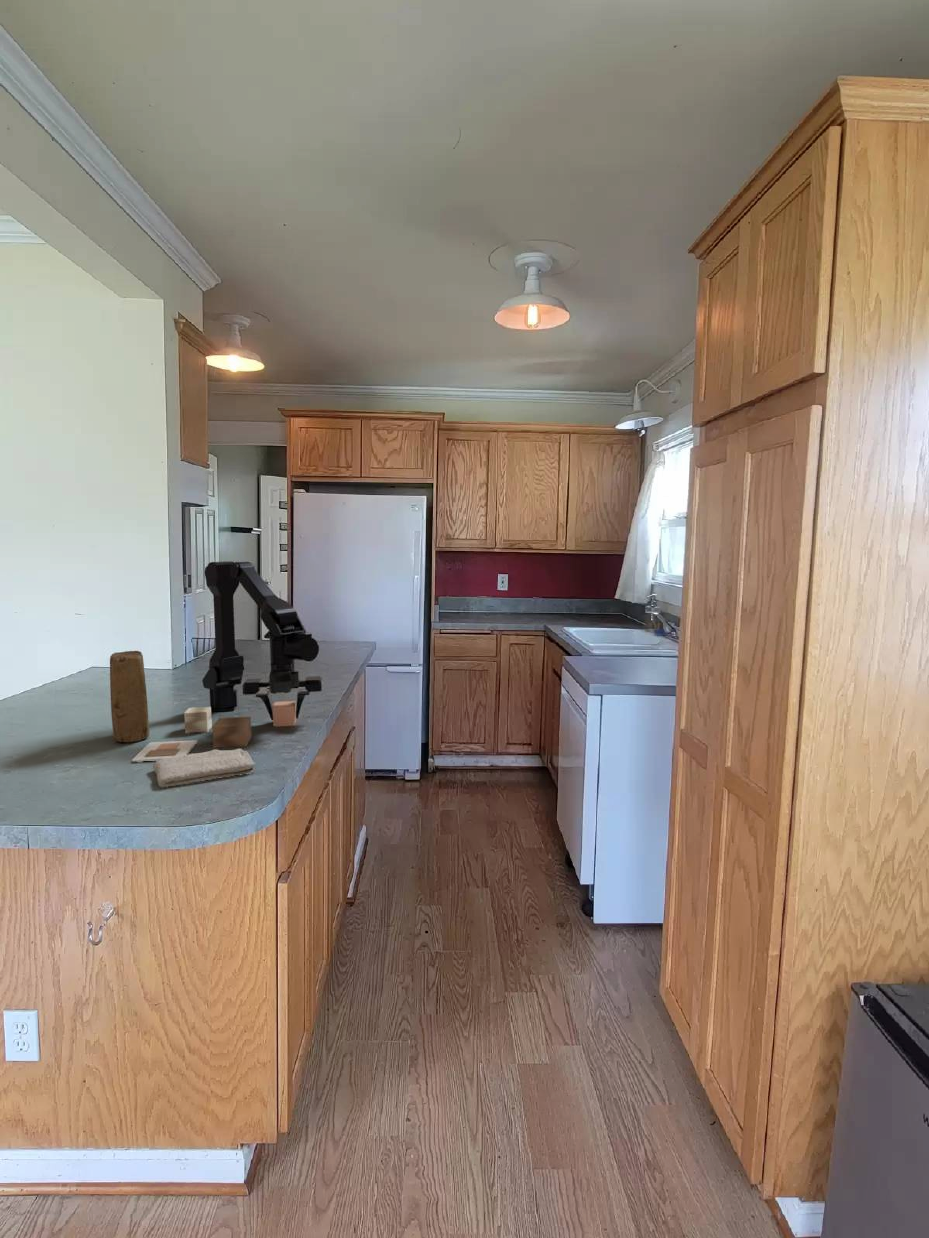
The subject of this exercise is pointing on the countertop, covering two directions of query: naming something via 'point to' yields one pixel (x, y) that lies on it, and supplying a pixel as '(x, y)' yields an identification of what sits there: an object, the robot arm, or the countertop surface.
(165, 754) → the card
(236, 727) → the walnut block
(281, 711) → the terracotta cube
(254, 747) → the countertop surface
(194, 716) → the ash cube
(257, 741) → the countertop surface
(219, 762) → the washcloth
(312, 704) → the countertop surface
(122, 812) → the countertop surface
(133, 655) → the block
